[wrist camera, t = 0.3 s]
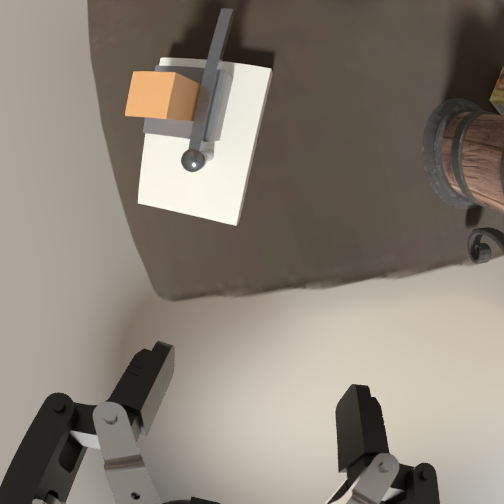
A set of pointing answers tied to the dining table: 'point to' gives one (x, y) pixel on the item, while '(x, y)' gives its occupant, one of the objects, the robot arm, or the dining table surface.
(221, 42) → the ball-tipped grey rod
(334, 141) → the dining table surface
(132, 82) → the plug
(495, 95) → the candy box
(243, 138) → the socket block
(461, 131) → the tankard
